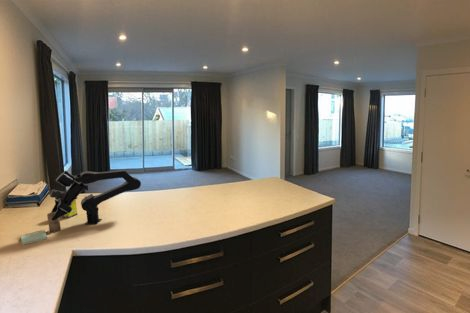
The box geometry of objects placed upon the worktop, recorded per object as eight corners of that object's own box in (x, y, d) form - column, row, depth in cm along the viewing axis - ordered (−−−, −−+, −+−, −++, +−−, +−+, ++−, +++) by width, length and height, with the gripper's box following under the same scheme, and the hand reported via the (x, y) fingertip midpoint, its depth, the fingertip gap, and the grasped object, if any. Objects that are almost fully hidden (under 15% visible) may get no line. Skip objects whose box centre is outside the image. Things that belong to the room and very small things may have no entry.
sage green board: (21, 237, 150) (20, 235, 150) (45, 232, 156) (44, 230, 156) (22, 244, 142) (21, 242, 142) (47, 238, 148) (46, 236, 148)
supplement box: (61, 217, 177) (58, 198, 175) (70, 213, 182) (67, 195, 181) (69, 218, 175) (66, 199, 173) (77, 214, 180) (75, 196, 178)
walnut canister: (53, 228, 160) (50, 212, 159) (62, 228, 160) (60, 211, 159) (47, 232, 155) (44, 215, 154) (57, 232, 155) (54, 215, 154)
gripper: (57, 180, 164) (35, 204, 160) (61, 187, 149) (37, 214, 144) (75, 191, 170) (55, 215, 165) (81, 199, 154) (58, 226, 150)
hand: (51, 217), depth 156 cm, fingers open, 9 cm apart
